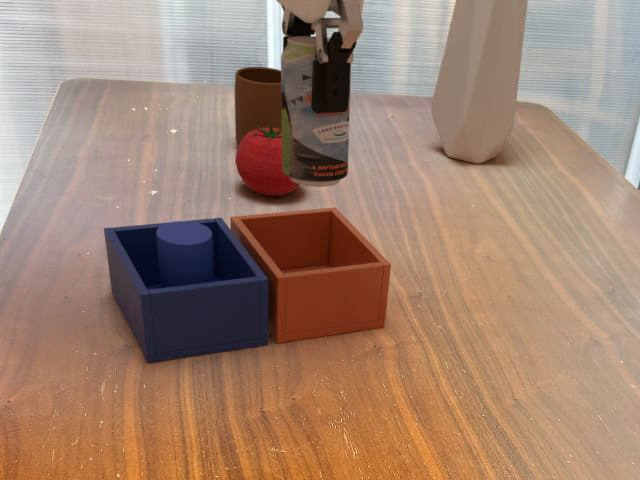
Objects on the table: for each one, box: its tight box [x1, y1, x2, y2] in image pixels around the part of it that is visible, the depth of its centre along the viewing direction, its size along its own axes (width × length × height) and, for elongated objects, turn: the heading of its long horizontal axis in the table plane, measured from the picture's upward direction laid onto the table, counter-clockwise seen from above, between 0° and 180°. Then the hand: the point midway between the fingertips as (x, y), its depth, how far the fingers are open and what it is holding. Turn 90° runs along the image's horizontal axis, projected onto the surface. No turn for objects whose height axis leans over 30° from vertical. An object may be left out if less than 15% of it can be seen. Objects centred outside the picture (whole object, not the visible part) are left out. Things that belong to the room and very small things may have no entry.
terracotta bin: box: [229, 206, 392, 344], centre depth 89 cm, size 12×14×7 cm
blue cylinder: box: [156, 220, 214, 288], centre depth 83 cm, size 5×5×8 cm
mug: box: [234, 66, 282, 147], centre depth 119 cm, size 12×8×9 cm, turn 87°
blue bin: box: [103, 217, 269, 364], centre depth 84 cm, size 12×14×7 cm
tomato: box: [235, 125, 300, 197], centre depth 109 cm, size 9×9×8 cm
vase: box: [430, 0, 529, 165], centre depth 118 cm, size 12×12×33 cm
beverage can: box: [280, 35, 352, 188], centre depth 78 cm, size 6×7×12 cm
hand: (314, 96), depth 78 cm, fingers closed on beverage can, 6 cm apart
